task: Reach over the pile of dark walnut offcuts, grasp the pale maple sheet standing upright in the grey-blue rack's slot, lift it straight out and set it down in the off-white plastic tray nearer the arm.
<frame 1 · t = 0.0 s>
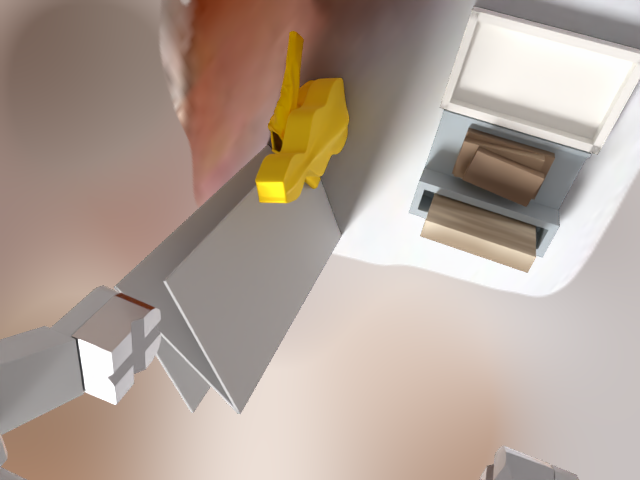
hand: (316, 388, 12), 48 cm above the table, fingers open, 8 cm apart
tray: (536, 78, 51), on the table
brochure: (305, 190, 67), on the table
offcut b: (498, 163, 54), point 2 cm above the table, touching offcut a, offcut c
offcut c: (502, 174, 54), point 4 cm above the table, touching offcut b
figure statuette: (330, 105, 60), on the table
maple sheet: (483, 204, 59), point 1 cm above the table, touching rack
offcut a: (501, 161, 55), point 1 cm above the table, touching offcut b, rack
rack: (494, 175, 58), on the table
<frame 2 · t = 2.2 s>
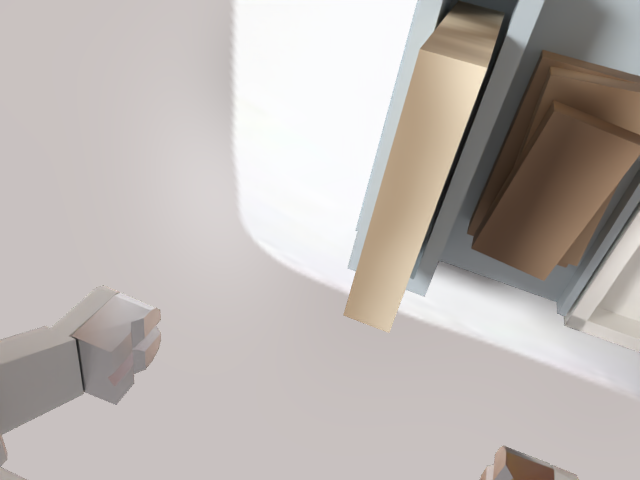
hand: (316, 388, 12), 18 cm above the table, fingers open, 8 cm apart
offcut b: (564, 166, 23), point 2 cm above the table, touching offcut a, offcut c
offcut c: (548, 189, 22), point 4 cm above the table, touching offcut b
maple sheet: (441, 125, 25), point 1 cm above the table, touching rack
offcut a: (554, 160, 24), point 1 cm above the table, touching offcut b, rack
rack: (509, 138, 25), on the table
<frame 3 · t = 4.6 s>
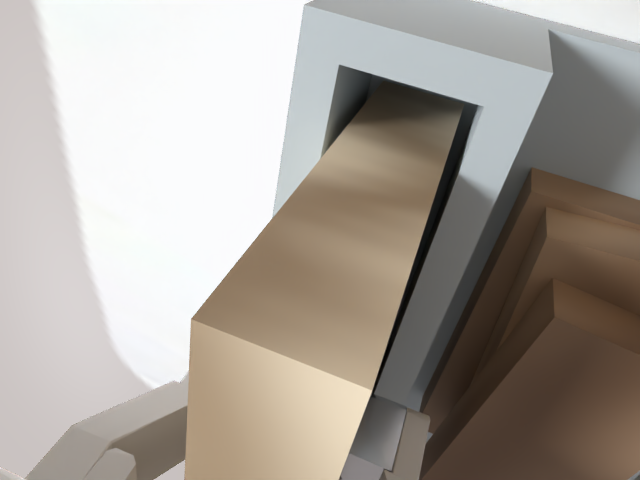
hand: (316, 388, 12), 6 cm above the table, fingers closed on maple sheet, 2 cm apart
offcut b: (569, 357, 13), point 2 cm above the table, touching offcut a, offcut c
offcut c: (543, 407, 13), point 4 cm above the table, touching offcut b
maple sheet: (370, 267, 16), point 1 cm above the table, touching gripper, rack
offcut a: (553, 332, 15), point 1 cm above the table, touching offcut b, rack
rack: (480, 285, 16), on the table
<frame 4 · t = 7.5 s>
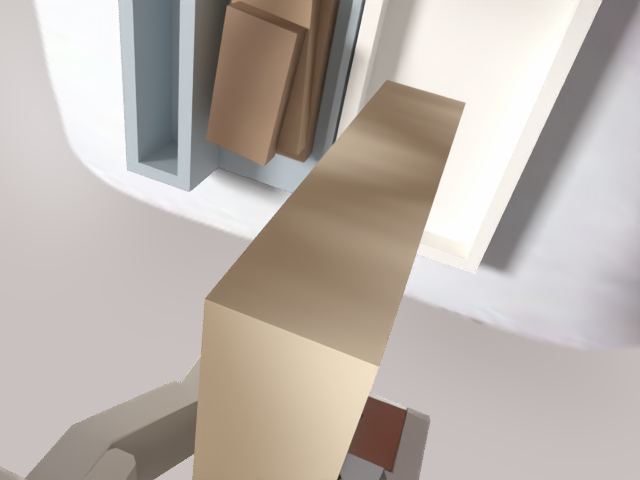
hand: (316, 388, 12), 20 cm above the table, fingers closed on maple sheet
tray: (442, 107, 28), on the table
offcut b: (277, 66, 27), point 2 cm above the table, touching offcut a, offcut c
offcut c: (258, 84, 26), point 4 cm above the table, touching offcut b
maple sheet: (372, 264, 16), point 15 cm above the table, touching gripper
offcut a: (282, 66, 28), point 1 cm above the table, touching offcut b, rack
rack: (253, 51, 29), on the table
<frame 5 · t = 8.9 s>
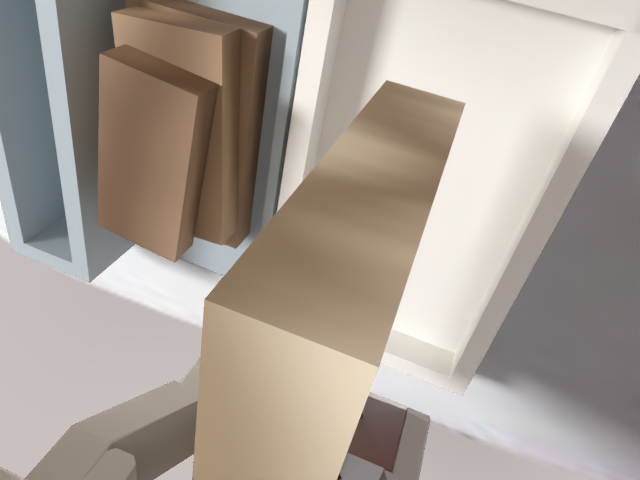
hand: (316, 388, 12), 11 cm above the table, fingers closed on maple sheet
tray: (417, 182, 20), on the table
offcut b: (191, 128, 20), point 2 cm above the table, touching offcut a, offcut c
offcut c: (162, 154, 19), point 4 cm above the table, touching offcut b
maple sheet: (372, 264, 16), point 6 cm above the table, touching gripper
offcut a: (203, 124, 21), point 1 cm above the table, touching offcut b, rack
rack: (169, 100, 22), on the table
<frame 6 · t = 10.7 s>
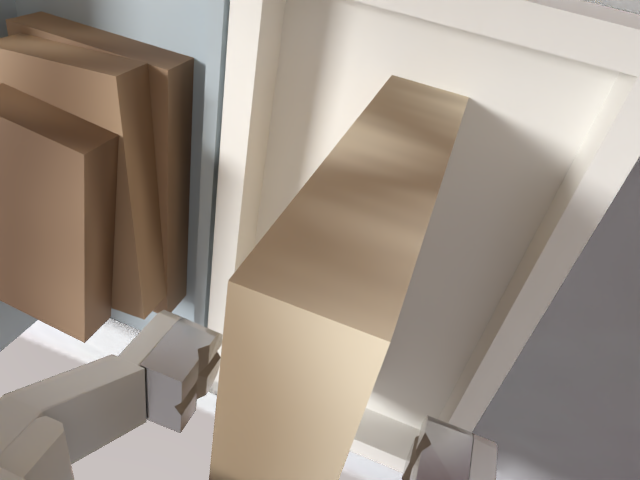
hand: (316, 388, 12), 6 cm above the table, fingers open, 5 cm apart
tray: (379, 242, 17), on the table
offcut b: (101, 179, 16), point 2 cm above the table, touching offcut a, offcut c
offcut c: (63, 214, 16), point 4 cm above the table, touching offcut b
maple sheet: (377, 255, 16), point 1 cm above the table, touching tray
offcut a: (123, 171, 17), point 1 cm above the table, touching offcut b, rack
rack: (86, 140, 19), on the table
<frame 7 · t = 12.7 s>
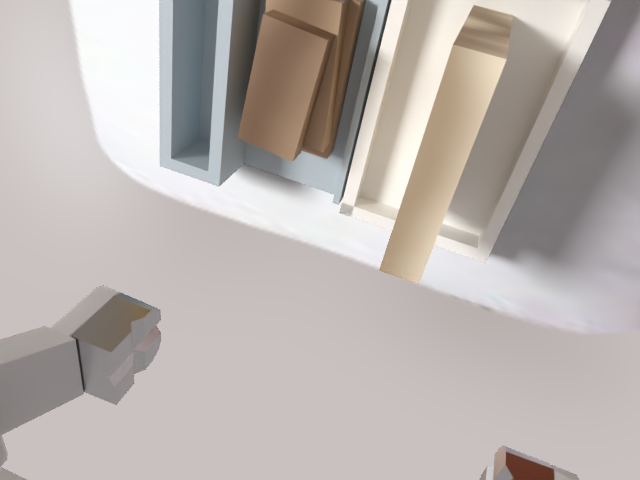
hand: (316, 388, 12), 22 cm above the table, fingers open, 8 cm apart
tray: (456, 107, 30), on the table
offcut b: (304, 69, 29), point 2 cm above the table, touching offcut a, offcut c
offcut c: (287, 86, 29), point 4 cm above the table, touching offcut b
maple sheet: (456, 112, 29), point 1 cm above the table, touching tray
offcut a: (308, 69, 30), point 1 cm above the table, touching offcut b, rack
rack: (280, 54, 32), on the table
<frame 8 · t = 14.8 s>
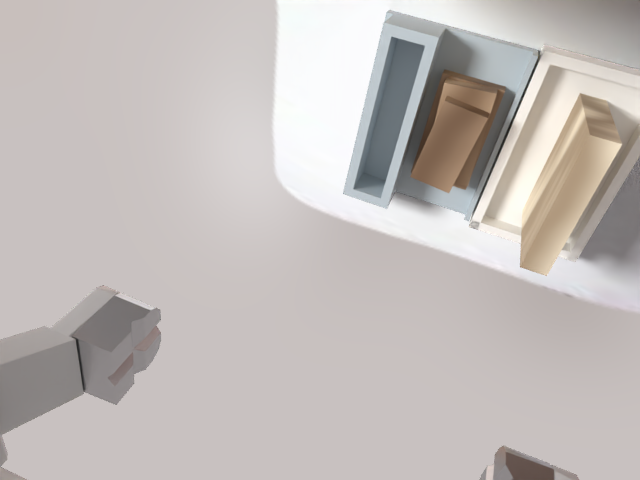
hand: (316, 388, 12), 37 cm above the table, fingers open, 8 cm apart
tray: (560, 156, 44), on the table
offcut b: (458, 131, 43), point 2 cm above the table, touching offcut a, offcut c
offcut c: (449, 143, 42), point 4 cm above the table, touching offcut b
maple sheet: (561, 159, 43), point 1 cm above the table, touching tray
offcut a: (456, 129, 44), point 1 cm above the table, touching offcut b, rack
rack: (433, 117, 45), on the table
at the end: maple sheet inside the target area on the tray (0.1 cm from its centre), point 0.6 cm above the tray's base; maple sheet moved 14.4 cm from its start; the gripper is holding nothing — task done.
